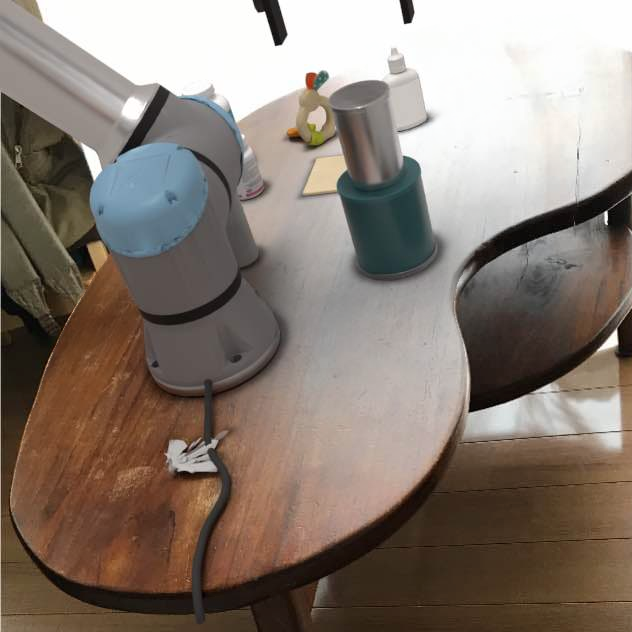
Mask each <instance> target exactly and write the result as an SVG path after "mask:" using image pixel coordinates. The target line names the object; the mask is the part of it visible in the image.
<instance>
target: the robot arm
mask: <svg viewBox="0 0 632 632" xmlns="http://www.w3.org/2000/svg"><path fill="white" fill-rule="evenodd" d="M398 2H399V6H400V11H401V16H402V21H403V25H409V24H413V23H412V22H413V19H414V16H415V13H416V12H415V6H414V0H398ZM252 5H253V7H254V10H255V11H256V12H257V13H258V14H259V13H265V18H266V21H267V24H268V27H269V31H270V34H271V38H272V41H273V44H274V47H280V46H283V44H284V42H285V40H286V39H287V38H288V35H289V34H288V30H287V27H286V23H285V19H284V17H283V13H282V9H281V5H280V2H279V0H252ZM0 93H2V94H4V95H6V96H7V97H9V98H10V99H12V100H13V101H15V102H17V103H18V104H20V105H22V106H23V107H24V108H26V109H27V110H29V111H31V112H33V113H34V114H36V115H37V116H39V117H40V118H42V119H43V120H45V121H46V122H48V123H50V124H51V125H53V126H55V127H56V128H58V129H59V130H61V131H62V132H64V133H66V134H67V135H69V137H72V138H73V139H75V140H77V141H78V142H80V143H81V144H83V145H84V146H86V147H88V148H89V149H91V150H93V151H94V152H95V153H96V155H97V157H98V161H99V164H100V168H101V171H100V172H99V174H98V175H97V176H96V178H95V179H94V181H93V183H92V186H91V188H90V193H89V207H90V211H91V214H92V216H93V219H94V221H95V227H96V230H97V232H98V234H99V236H100V238H101V240H102V242H103V243H104V244H105V245H106V248H107V249H108V252H109V253H110V256H111V257H112V260H113V262H114V264H115V266H116V268H117V270H118V272H119V274H120V276H121V278H122V280H123V282H124V284H125V286H126V288H127V290H128V292H129V294H130V296H131V298H132V300H133V302H134V304H135V306H136V307H137V310H138V311H139V313H140V315H141V318H142V327H143V340H144V350H145V360H146V363H147V367H148V371H149V372H150V374H151V376H152V378H153V380H154V382H155V383H156V384H157V386H158V387H159V388H161V389H162V390H163V391H165V392H166V393H169V394H172V395H175V396H181V397H203V396H204V421H203V441H204V442H206V443H205V446H207V445H209V444H212V441H211V440H212V438H213V436H212V432H213V431H212V429H213V428H212V426H213V425H212V424H213V395H214V394H218V393H222V392H225V391H227V390H230V389H232V388H234V387H236V386H238V385H240V384H242V383H244V382H246V381H248V380H249V379H250V378H252V377H254V376H255V375H256V374H257V373H259V372H260V371H261V370H263V368H264V367H265V366H266V365H267V364H268V363H269V362H270V361H271V360H272V358H273V357H274V356H275V353H276V352H277V350H278V348H279V346H280V342H281V330H280V327H279V324H278V322H277V321H278V320H277V319H276V315H275V314H274V313H273V311H272V310H271V308H270V306H269V305H268V304H267V303H266V302H264V301H263V299H262V298H261V295H260V292H259V290H258V289H254V288H253V287H252V286H251V285H250V284H249V282H248V281H246V279H245V278H244V277H243V275H242V272H241V270H240V269H241V268H239V267H238V264H237V261H236V259H235V256H234V253H233V251H232V248H231V245H230V243H229V240H228V237H227V234H226V223H227V220H228V216H229V213H230V210H231V206H232V203H233V199H234V196H235V192H236V189H237V186H238V185H239V183H240V181H241V177H242V173H243V168H244V144H243V139H242V136H241V134H242V133H241V131H240V128H239V127H238V125H236V124H237V122H236V120H235V121H234V120H233V118H232V117H231V116H230V115H229V114H228V113H227V112H226V111H225V110H224V109H223V108H222V107H221V106H219V105H218V104H216V103H215V102H213V101H211V100H209V99H206V98H204V97H200V96H195V95H191V96H182V95H176V94H175V93H173V92H172V91H171V90H169V89H167V88H166V87H165V86H163V85H162V84H160V83H159V82H153V83H147V84H141V85H140V84H135V83H134V82H132V81H131V80H130V79H128V78H126V77H125V76H124V75H122V74H121V73H119V72H118V71H116V70H115V69H114V68H112V67H110V66H109V65H107V64H106V63H104V62H103V61H102V60H101V59H98V58H97V57H96V56H94V55H93V54H91V53H89V52H88V51H86V50H85V49H84V48H82V47H81V46H79V45H78V44H77V43H75V42H73V40H70V39H69V38H67V37H66V36H65V35H63V34H61V33H60V32H59V31H57V30H56V29H54V28H52V27H51V26H50V25H48V24H47V23H46V22H43V21H42V20H41V19H40V18H38V17H36V16H35V15H33V13H30V12H29V11H27V10H26V9H25V8H23V7H21V6H20V5H18V4H17V3H16V2H14V1H13V0H0ZM235 122H236V123H235ZM207 454H208V455H209V458H210V459H211V461H212V462H213V464H214V465H215V466H216V468H217V469H218V470H217V472H218V473H219V474H220V478H221V489H220V493H219V496H218V498H217V499H216V502H215V504H214V506H213V507H212V509H211V510H210V512H209V514H208V515H207V517H206V518H205V520H204V523H203V524H202V526H201V528H200V532H199V534H198V537H197V541H196V546H195V550H194V554H193V559H192V564H191V565H192V566H191V579H190V580H191V582H190V583H191V596H192V604H193V610H194V616H195V617H194V618H195V621H196V624H198V625H202V624H204V623H205V621H206V613H205V607H204V602H203V601H204V600H203V593H202V592H203V591H202V579H201V577H202V575H201V574H202V564H203V558H204V554H205V549H206V545H207V542H208V537H209V535H210V532H211V530H212V527H213V526H214V524H215V523H216V520H217V519H218V517H219V516H220V513H221V512H222V510H223V509H224V507H225V505H226V503H227V500H228V498H229V494H230V491H231V476H230V473H229V469H228V467H226V466H227V465H225V463H224V462H223V461H222V459H221V458H220V456H219V455H218V454H217V452H216V450H215V449H214V448H208V451H207Z"/></svg>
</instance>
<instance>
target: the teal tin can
mask: <svg viewBox="0 0 632 632" xmlns="http://www.w3.org/2000/svg"><path fill="white" fill-rule="evenodd" d="M402 156H403V160H404V165H405V170H406V172H405V175H404V177H403V178H402V179H401V180H400V181H399V182H397V183H396V184H394V185H392V186H390V187H387V188H385V189H381V190H376V191H361V190H358V189H355V188H354V187H353V186H352V185H351V182H350V178H349V174H348V171H347V170H346V171H345V172H344V173H343V174H342V175H341V176H340V177H339V179H338V181H337V191H338V192H337V194H338V195H339V198H340V202H341V206H342V209H343V213H344V217H345V220H346V224H347V228H348V230H349V234H350V238H351V241H352V246H353V249H354V253H355V262H356V266H357V269H358V270H359V272H360V273H361V274H362V275H364V276H365V277H367V278H369V279H372V280H378V281H393V280H394V281H395V280H400V279H404V278H409V277H411V276H413V275H414V276H415V274H417V273H420V272H422V271H423V270H424V269H426V268H428V267H429V266H430V265H431V264H432V263H433V262H434V260H435V259H436V257H437V255H438V252H439V251H438V249H439V248H438V243H437V239H436V237H435V236H434V231H433V227H432V222H431V217H430V213H429V212H430V211H429V207H428V202H427V197H426V192H425V188H424V187H425V186H424V183H423V178H422V168H421V165H420V163H419V162H418V161H417V160H416V159H415V158H413V157H411V156H407V155H405V154H404V155H403V154H402Z"/></svg>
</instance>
